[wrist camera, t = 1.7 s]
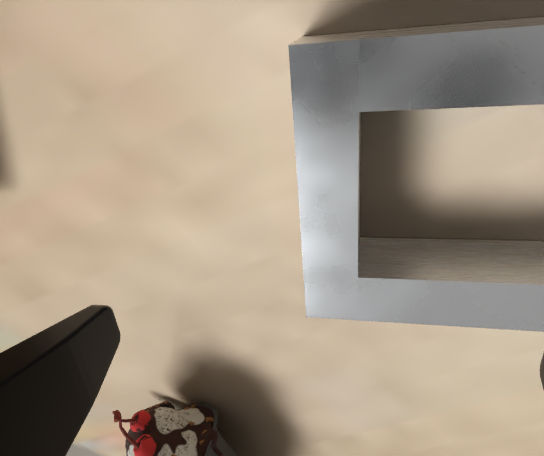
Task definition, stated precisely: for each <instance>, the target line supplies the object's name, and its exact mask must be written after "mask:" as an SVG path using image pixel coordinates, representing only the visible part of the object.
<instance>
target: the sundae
mask: <svg viewBox="0 0 544 456" xmlns="http://www.w3.org/2000/svg"><path fill="white" fill-rule="evenodd" d="M113 414H114V422H118V421H119V428H120V430H121V432H122V433H123V434H124V436H125V437H126V445H125V447H126V454H127V456H238V455H237V454H236V452H235V451H234V450H233V449H232V448H231V447H230V446H229V445H228V444H227V442H226V441H225V440H224V439H223V438H222V436H221V435H220V433H219V432H218V430H217V429H216V425H217V420H218V413H217V411H216V410H215V408H214V407H212V406H211V405H209V404H206V403H198V404H194V405H192V406H190V407H186V408H184V409H183V410H175V408H174V406H173V405H172V404H171V403H170V402H169V401H164V402H162V403H160V404H157V405H154V406H152V407H149V408H147V409H145V410H141V411H139V412H137V413H135V414H134V416H133V417H132V419H121V413H120V412H119V411H118V410H116V411H113ZM122 422H130V430H129V432H128V433H127V432H126V431H125V430H124V428H123V427H122Z"/></svg>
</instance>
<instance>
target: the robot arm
mask: <svg viewBox="0 0 544 456" xmlns="http://www.w3.org/2000/svg"><path fill="white" fill-rule="evenodd" d="M119 342H120V331H119V328H118V325H117V322H116V319H115V316H114V313H113V310H112V309H111V308H110V307H109V306H106V305H91V306H89V307H87V308H85V309H83V310H81V311H79V312H77V313H76V314H74V315H72V316H70V317H68V318H66V319H64V320H62V321H60V322H58V323H57V324H55V325H53V326H51V327H49V328H47V329H45V330H43V331H41V332H39V333H38V334H36V335H34V336H32V337H30V338H28V339H26V340H24V341H22V342H20V343H19V344H17V345H15V346H13V347H11V348H9V349H7V350H5V351H3V352H1V353H0V456H66V454H67V452H68V450H69V448H70V446H71V445H72V443H73V441H74V439H75V437H76V435H77V434H78V432H79V430H80V428H81V426H82V424H83V423H84V421H85V419H86V417H87V415H88V413H89V411H90V409H91V407H92V406H93V404H94V401H95V399H96V397H97V395H98V393H99V390H100V388H101V385H102V383H103V381H104V378H105V376H106V374H107V371H108V369H109V367H110V364H111V362H112V360H113V357H114V355H115V353H116V350H117V348H118V345H119ZM540 377H541V382H542V385H543V389H544V353H543V357H542V360H541V364H540Z"/></svg>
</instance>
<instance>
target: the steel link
mask: <svg viewBox="0 0 544 456" xmlns="http://www.w3.org/2000/svg"><path fill="white" fill-rule="evenodd" d="M289 59H290V75H291V90H292V105H293V121H294V136H295V151H296V167H297V182H298V197H299V213H300V228H301V243H302V259H303V274H304V289H305V305H306V317H311V318H328V319H344V320H361V321H377V322H394V323H410V324H427V325H443V326H460V327H476V328H492V329H509V330H525V331H542V332H544V241H523V240H471V239H420V238H368V237H360V114H361V112H371V111H394V110H418V109H441V108H464V107H488V106H511V105H534V104H544V17H532V18H519V19H507V20H495V21H483V22H471V23H459V24H447V25H435V26H423V27H411V28H399V29H387V30H375V31H362V32H350V33H338V34H326V35H314V36H303V37H301V38H299V39H298V40H296V41H294V42H293V43H291V44H290V45H289Z"/></svg>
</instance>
